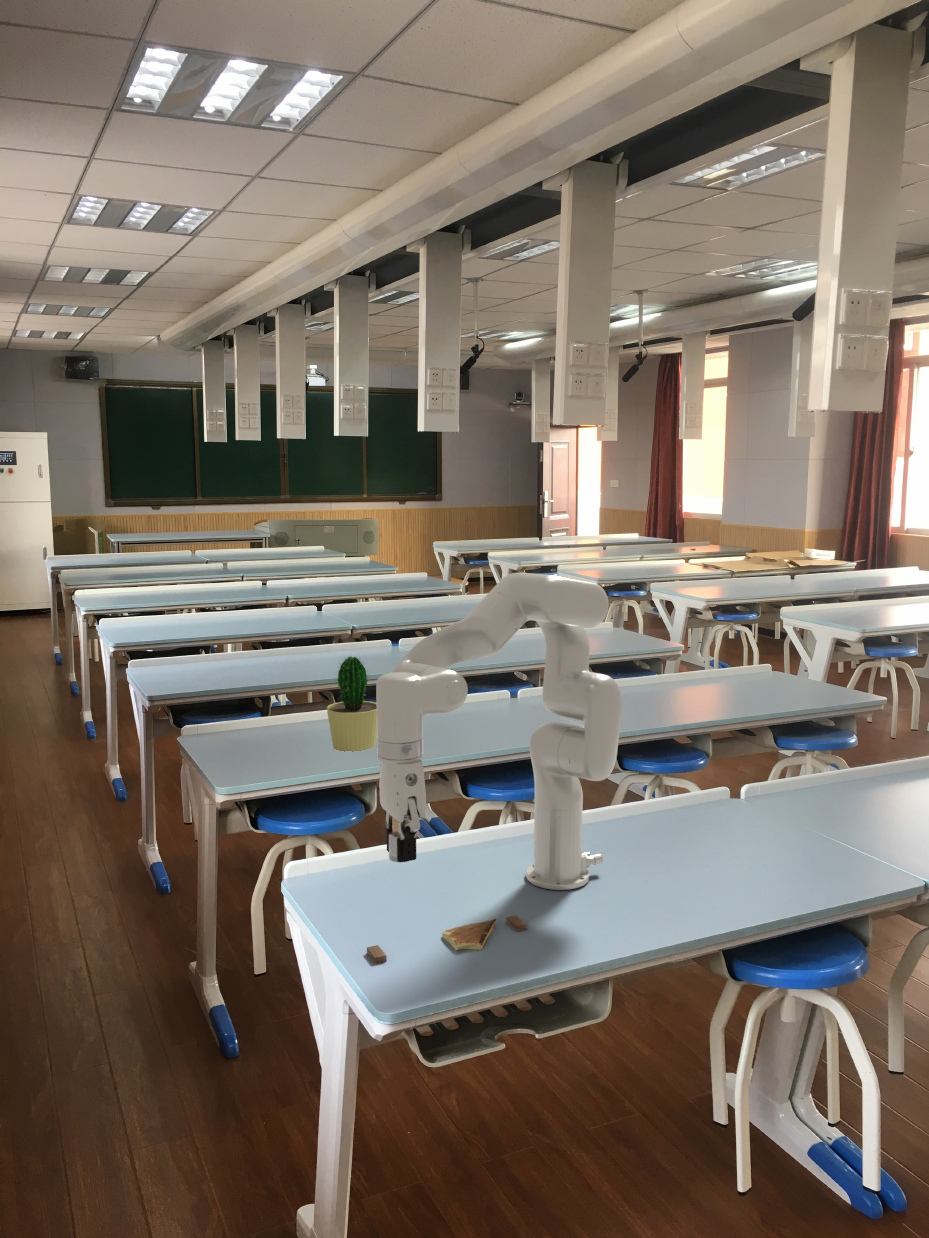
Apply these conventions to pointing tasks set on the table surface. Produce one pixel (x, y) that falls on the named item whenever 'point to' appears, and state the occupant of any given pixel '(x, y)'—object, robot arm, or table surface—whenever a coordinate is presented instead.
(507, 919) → the small brown blocks
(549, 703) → the robot arm
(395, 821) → the gold capped bottle
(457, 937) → the shard
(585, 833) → the table surface
